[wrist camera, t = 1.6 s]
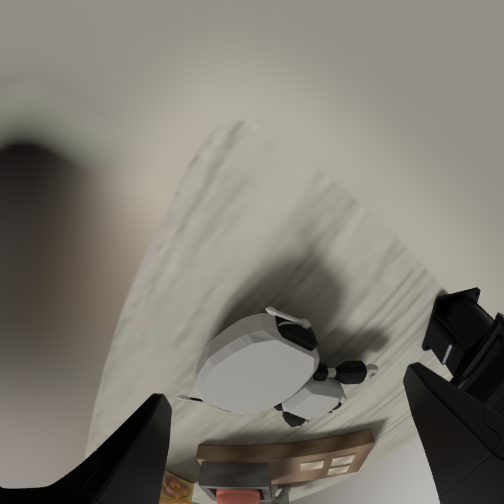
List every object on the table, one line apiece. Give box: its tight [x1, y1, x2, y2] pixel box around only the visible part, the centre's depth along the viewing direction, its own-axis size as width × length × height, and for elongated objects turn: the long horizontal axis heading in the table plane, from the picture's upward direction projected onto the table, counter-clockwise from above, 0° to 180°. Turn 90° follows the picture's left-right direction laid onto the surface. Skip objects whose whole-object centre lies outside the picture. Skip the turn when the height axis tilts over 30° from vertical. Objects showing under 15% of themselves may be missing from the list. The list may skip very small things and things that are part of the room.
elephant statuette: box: [259, 484, 290, 504], centre depth 35 cm, size 9×12×8 cm
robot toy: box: [178, 307, 378, 428], centre depth 22 cm, size 12×4×15 cm
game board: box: [196, 429, 375, 502], centre depth 29 cm, size 24×12×6 cm, turn 96°
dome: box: [216, 489, 260, 504], centre depth 25 cm, size 6×6×6 cm
